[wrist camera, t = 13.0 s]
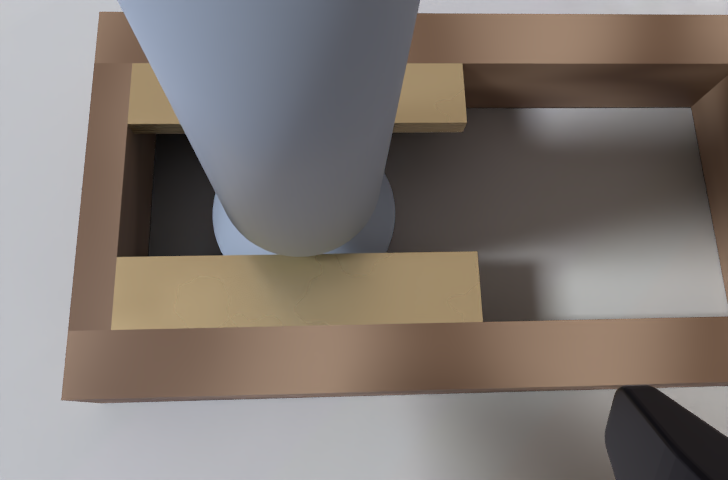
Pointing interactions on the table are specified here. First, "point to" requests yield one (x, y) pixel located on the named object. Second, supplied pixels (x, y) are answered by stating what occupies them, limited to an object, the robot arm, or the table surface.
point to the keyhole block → (381, 270)
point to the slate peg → (286, 113)
